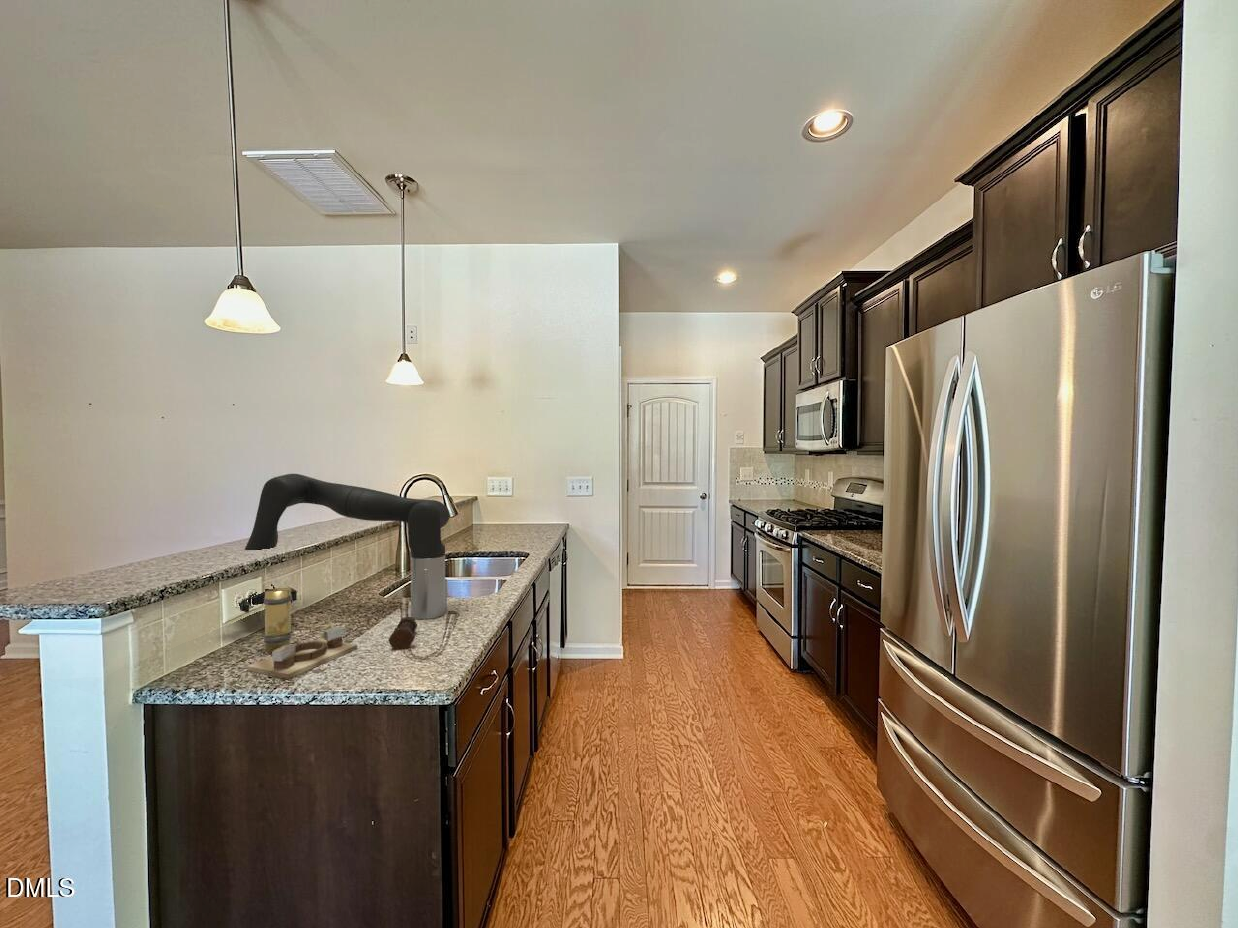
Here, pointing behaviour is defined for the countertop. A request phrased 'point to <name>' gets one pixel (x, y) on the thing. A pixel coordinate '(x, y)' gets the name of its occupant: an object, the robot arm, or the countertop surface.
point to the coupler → (277, 618)
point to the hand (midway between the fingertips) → (268, 604)
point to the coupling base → (300, 665)
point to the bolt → (403, 634)
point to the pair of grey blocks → (289, 649)
